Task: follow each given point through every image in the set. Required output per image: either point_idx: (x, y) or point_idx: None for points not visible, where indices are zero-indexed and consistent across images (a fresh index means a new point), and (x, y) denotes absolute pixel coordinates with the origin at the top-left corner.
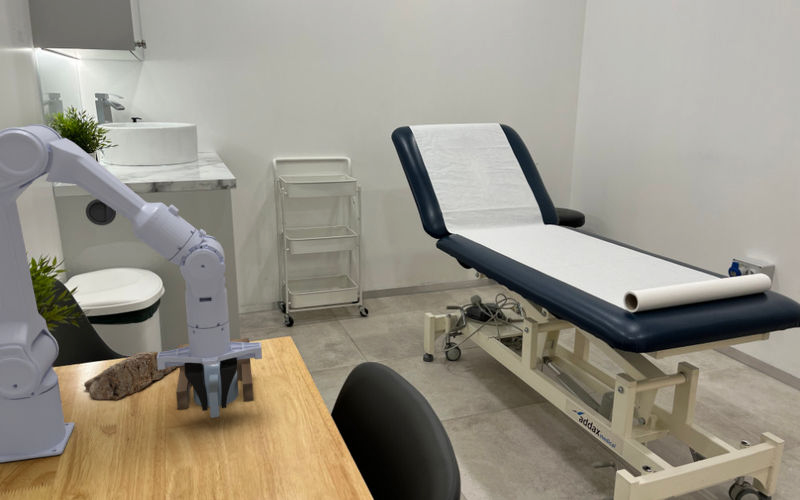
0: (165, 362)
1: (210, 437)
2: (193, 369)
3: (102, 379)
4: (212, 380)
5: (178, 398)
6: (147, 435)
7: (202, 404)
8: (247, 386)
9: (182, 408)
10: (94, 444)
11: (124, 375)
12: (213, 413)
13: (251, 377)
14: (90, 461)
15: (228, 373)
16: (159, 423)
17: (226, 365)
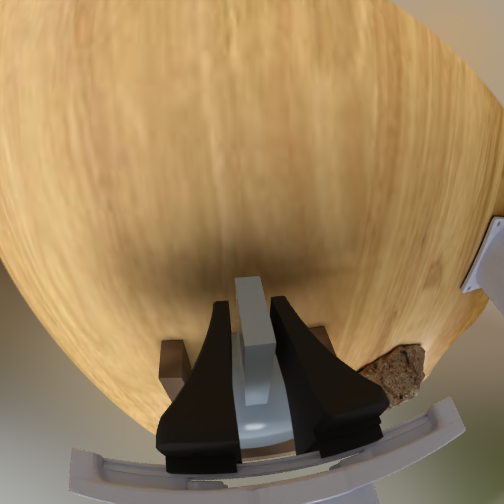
0: (441, 424)
1: (258, 205)
2: (351, 425)
3: (421, 372)
4: (260, 389)
5: (329, 346)
6: (395, 246)
7: (290, 309)
8: (170, 371)
9: (315, 328)
10: (461, 235)
11: (399, 383)
12: (252, 285)
13: (167, 392)
14: (475, 183)
15: (194, 419)
16: (366, 285)
17: (208, 453)
